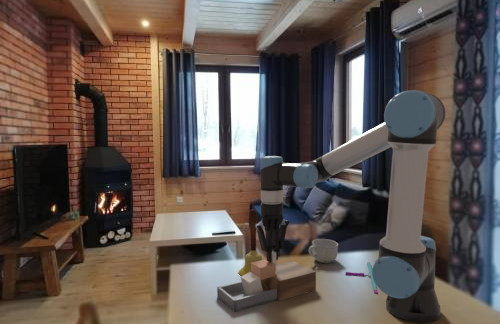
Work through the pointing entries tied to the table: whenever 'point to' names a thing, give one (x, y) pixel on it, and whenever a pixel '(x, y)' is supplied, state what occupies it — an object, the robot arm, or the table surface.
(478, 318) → the table surface
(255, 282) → the white square block
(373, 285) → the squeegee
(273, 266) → the tile rear
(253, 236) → the handbell
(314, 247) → the teacup
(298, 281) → the wooden block
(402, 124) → the robot arm
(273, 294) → the tray
